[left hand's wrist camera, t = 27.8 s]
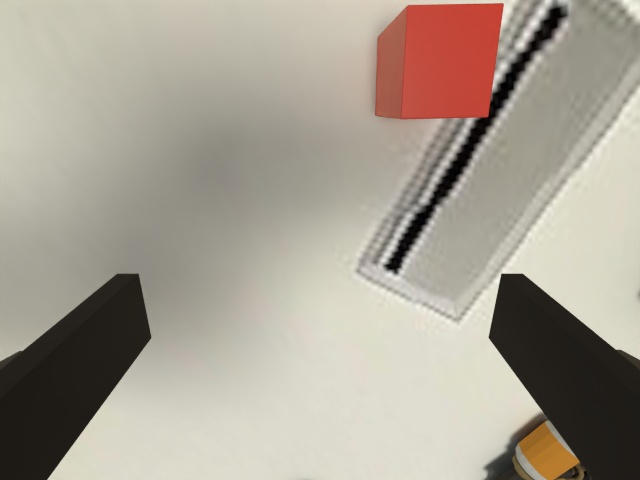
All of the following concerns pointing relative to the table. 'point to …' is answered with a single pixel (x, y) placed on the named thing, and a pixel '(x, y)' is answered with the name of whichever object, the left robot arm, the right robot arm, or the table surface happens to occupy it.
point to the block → (438, 61)
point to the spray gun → (544, 458)
